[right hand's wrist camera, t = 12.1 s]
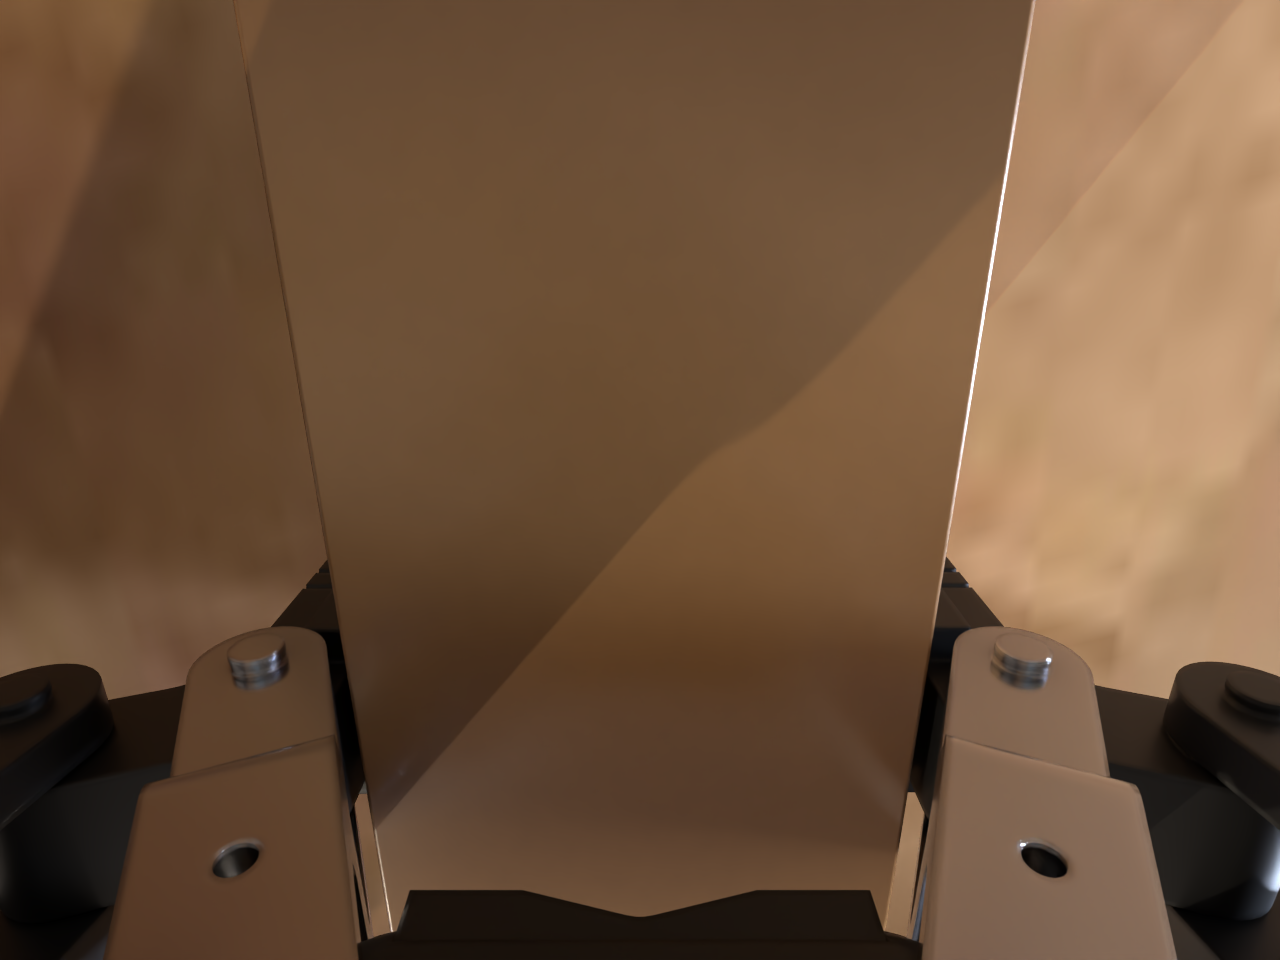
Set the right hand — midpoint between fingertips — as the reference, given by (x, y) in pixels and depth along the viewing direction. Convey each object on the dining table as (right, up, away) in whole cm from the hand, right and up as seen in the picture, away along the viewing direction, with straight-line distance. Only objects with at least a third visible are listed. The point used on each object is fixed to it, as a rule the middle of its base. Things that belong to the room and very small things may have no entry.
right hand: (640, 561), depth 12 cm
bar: (0, +9, +1) cm, 9 cm away
